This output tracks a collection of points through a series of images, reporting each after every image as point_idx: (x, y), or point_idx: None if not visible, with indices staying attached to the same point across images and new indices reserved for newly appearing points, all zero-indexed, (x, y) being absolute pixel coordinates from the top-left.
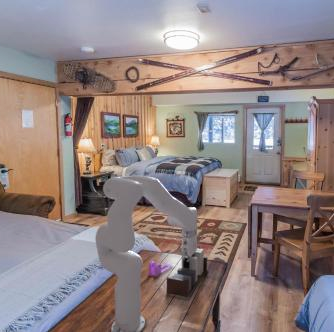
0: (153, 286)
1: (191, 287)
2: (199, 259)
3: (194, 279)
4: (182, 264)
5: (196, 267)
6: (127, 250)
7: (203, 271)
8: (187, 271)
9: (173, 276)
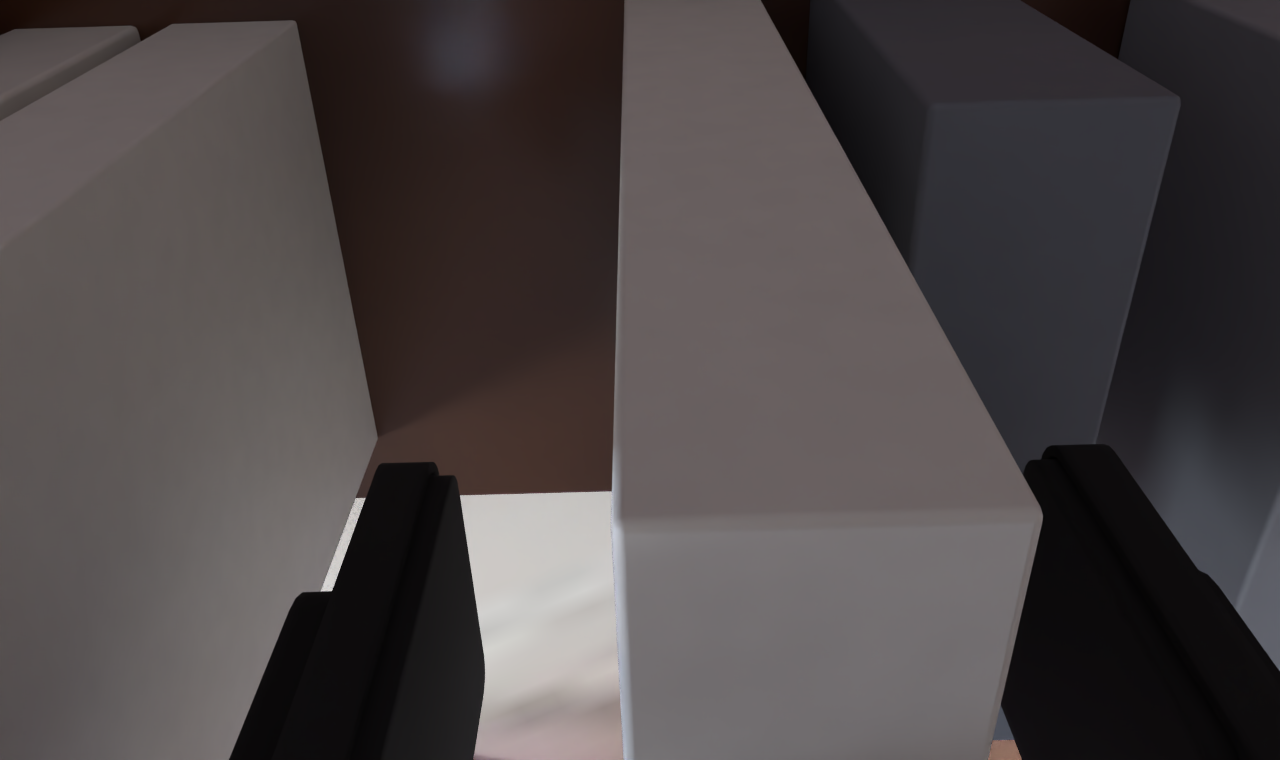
0: (1013, 751)
1: (1044, 4)
2: (5, 335)
3: (960, 9)
4: None
5: (787, 158)
6: None
7: (13, 19)
8: (1074, 417)
9: None
